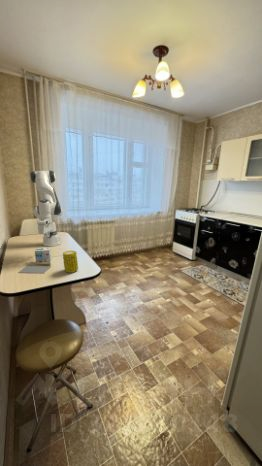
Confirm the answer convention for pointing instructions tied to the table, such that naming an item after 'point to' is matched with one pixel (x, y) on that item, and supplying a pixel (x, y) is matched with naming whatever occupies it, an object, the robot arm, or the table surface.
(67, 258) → the food
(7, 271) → the table surface
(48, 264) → the rail
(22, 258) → the table surface
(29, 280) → the table surface
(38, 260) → the light bulb box
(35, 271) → the mat
